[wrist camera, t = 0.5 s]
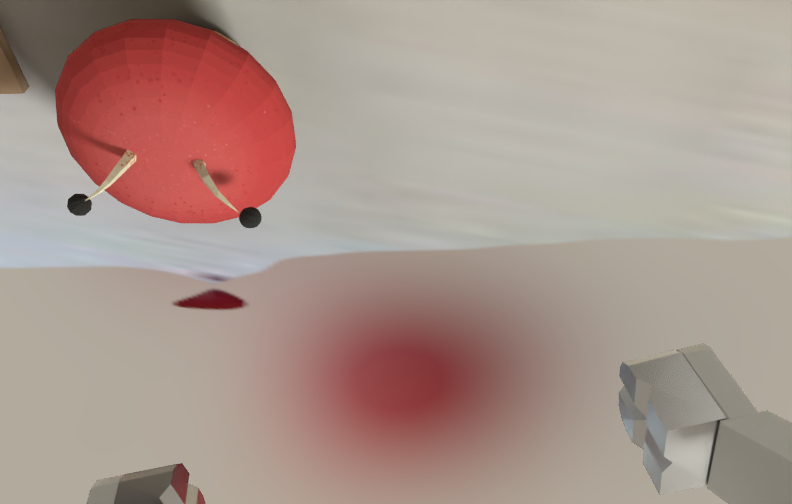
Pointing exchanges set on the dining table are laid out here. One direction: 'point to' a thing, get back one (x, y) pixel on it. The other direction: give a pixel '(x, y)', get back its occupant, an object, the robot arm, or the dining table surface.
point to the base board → (10, 70)
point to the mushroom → (174, 122)
